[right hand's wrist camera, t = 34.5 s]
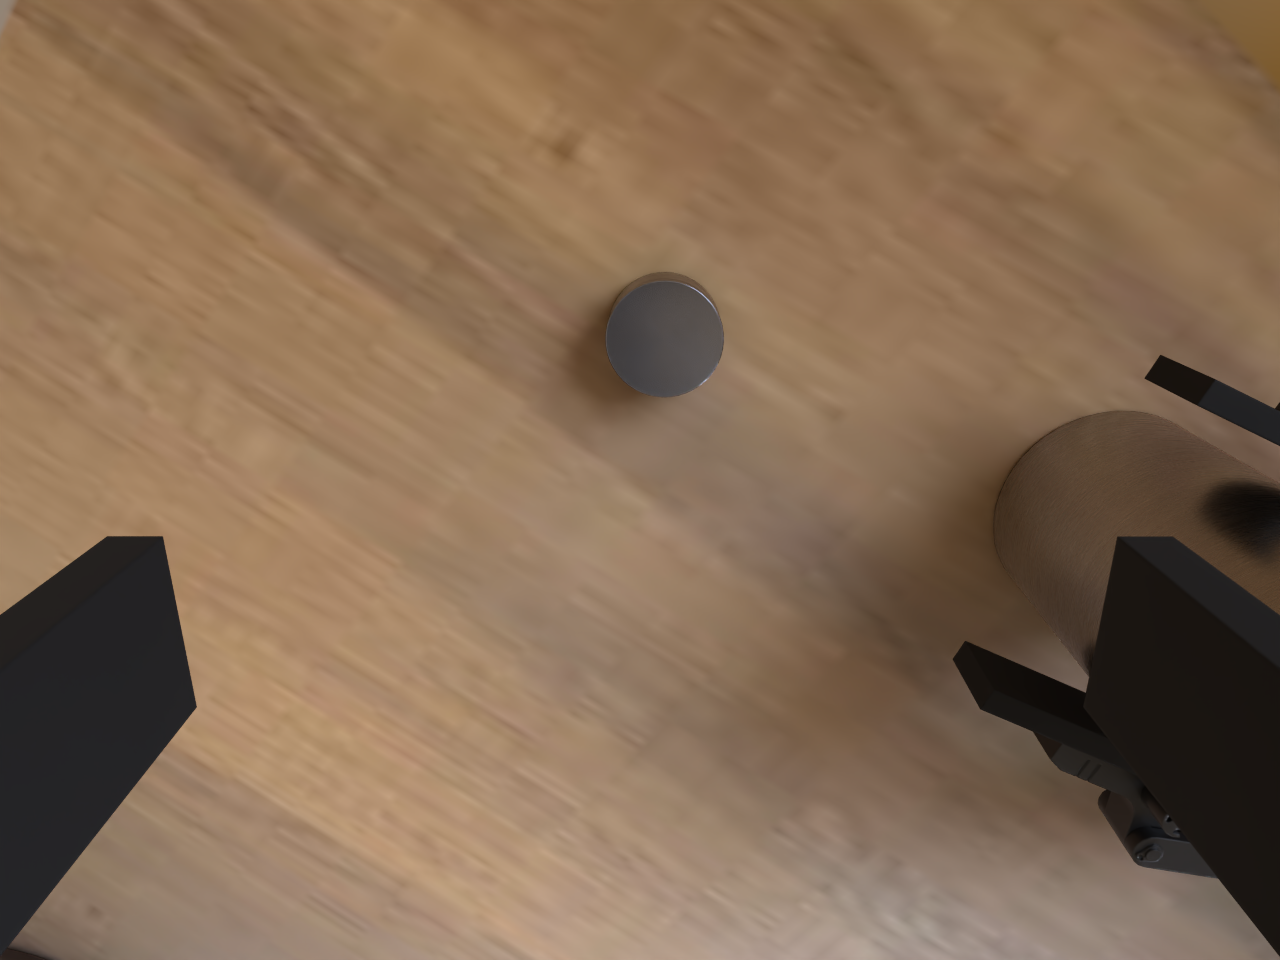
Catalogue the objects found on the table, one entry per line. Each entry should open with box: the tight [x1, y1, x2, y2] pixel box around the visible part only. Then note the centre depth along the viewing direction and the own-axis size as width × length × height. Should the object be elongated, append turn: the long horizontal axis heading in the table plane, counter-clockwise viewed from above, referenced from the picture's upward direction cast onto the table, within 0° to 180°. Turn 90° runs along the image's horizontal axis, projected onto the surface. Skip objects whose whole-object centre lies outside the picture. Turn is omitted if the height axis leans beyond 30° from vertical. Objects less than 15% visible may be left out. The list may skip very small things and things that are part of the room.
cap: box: [605, 272, 724, 397], centre depth 29 cm, size 4×4×2 cm
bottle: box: [994, 411, 1280, 676], centre depth 23 cm, size 8×8×20 cm
